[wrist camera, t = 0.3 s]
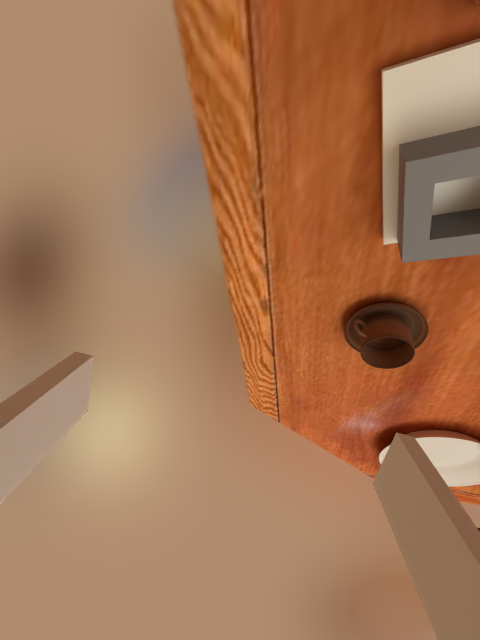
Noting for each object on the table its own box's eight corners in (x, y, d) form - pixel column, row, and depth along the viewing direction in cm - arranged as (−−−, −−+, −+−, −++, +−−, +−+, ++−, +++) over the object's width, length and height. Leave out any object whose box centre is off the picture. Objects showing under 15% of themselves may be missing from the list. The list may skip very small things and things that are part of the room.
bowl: (441, 479, 85) (443, 493, 82) (357, 447, 82) (357, 461, 80) (534, 450, 66) (541, 467, 64) (429, 407, 64) (432, 424, 62)
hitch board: (381, 68, 30) (387, 82, 25) (579, 6, 25) (630, 10, 20) (382, 238, 41) (387, 267, 37) (518, 219, 36) (542, 251, 32)
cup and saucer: (334, 337, 56) (333, 365, 52) (362, 287, 47) (364, 316, 43) (401, 355, 56) (406, 385, 51) (443, 307, 47) (452, 338, 43)
